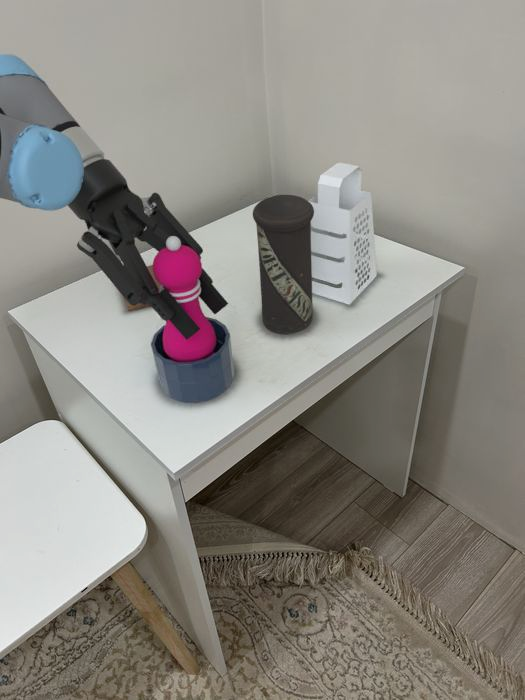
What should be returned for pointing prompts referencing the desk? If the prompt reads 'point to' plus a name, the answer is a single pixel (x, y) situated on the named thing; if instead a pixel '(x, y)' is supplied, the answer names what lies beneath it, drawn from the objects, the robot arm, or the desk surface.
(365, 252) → the grater
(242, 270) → the desk surface
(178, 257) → the pepper mill
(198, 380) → the pot
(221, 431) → the desk surface
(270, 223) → the container
